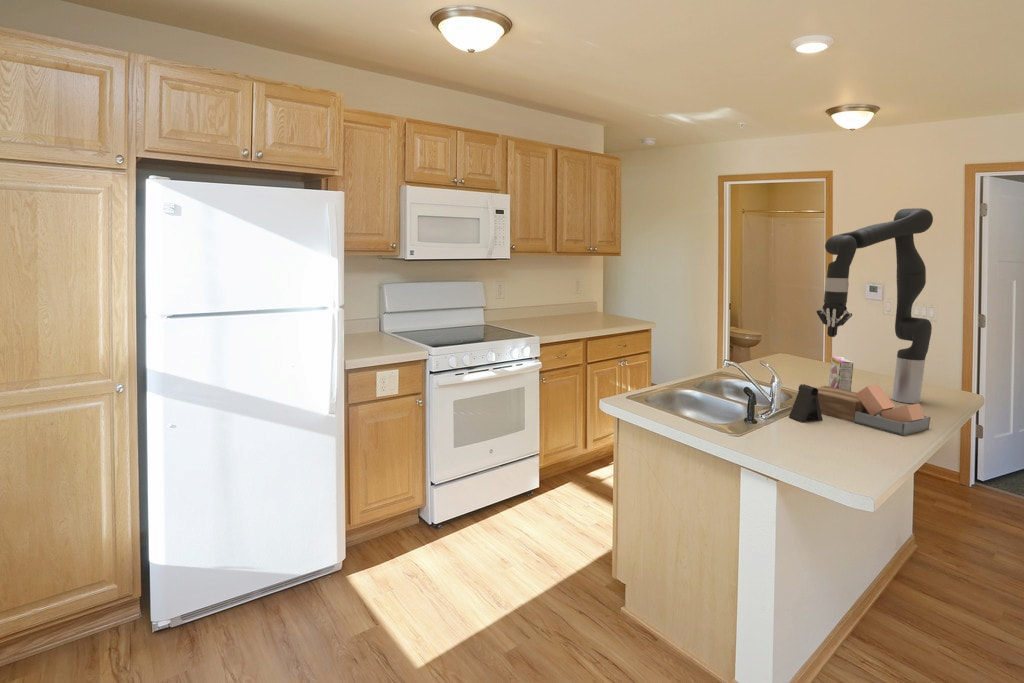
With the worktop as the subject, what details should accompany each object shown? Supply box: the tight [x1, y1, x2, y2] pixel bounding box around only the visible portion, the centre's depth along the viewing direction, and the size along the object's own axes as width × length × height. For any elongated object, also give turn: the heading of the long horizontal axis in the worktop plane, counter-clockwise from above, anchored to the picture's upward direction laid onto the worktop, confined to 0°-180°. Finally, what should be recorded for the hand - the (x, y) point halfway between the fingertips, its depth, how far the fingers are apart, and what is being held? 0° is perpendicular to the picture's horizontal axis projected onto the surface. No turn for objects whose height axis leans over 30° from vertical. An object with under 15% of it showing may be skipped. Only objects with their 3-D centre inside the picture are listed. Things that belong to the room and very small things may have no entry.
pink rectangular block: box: [856, 384, 896, 416], centre depth 201 cm, size 7×9×5 cm
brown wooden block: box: [815, 385, 878, 423], centre depth 213 cm, size 14×20×7 cm
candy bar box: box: [828, 356, 854, 392], centre depth 230 cm, size 11×5×16 cm, turn 168°
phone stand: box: [788, 383, 823, 423], centre depth 203 cm, size 9×6×12 cm, turn 104°
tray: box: [853, 408, 931, 437], centre depth 197 cm, size 16×16×4 cm
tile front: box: [881, 403, 925, 423], centre depth 194 cm, size 7×9×5 cm
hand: (831, 336), depth 216 cm, fingers closed
